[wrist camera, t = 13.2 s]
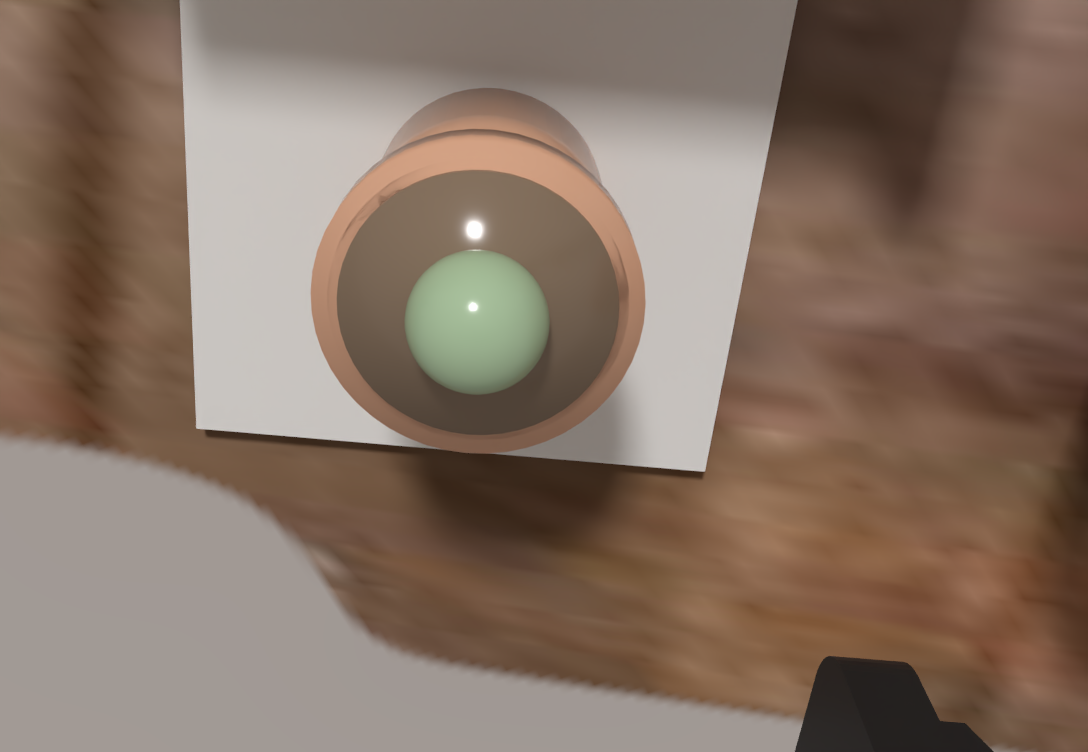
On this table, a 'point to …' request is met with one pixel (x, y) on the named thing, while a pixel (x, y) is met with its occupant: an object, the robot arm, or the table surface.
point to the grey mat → (392, 99)
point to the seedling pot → (480, 278)
